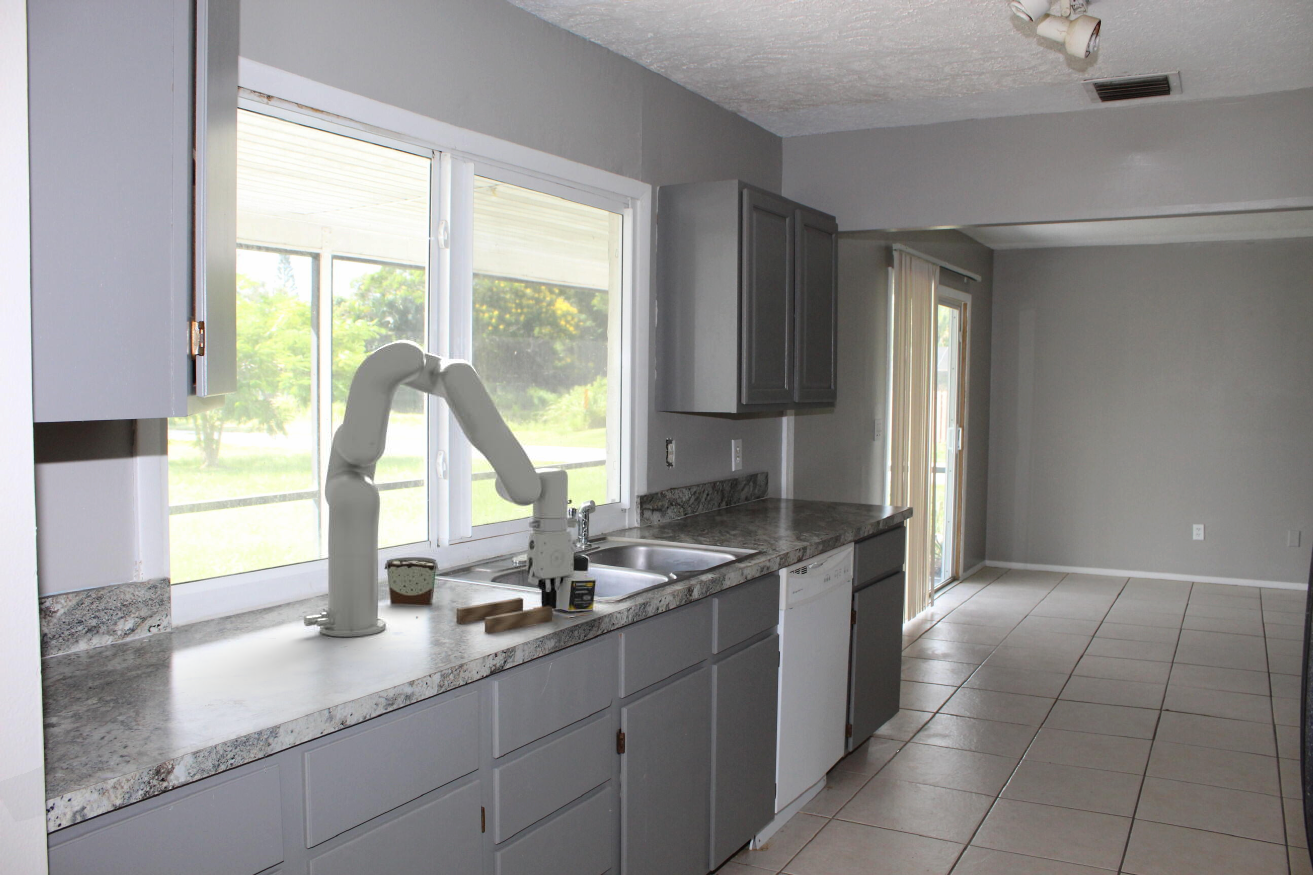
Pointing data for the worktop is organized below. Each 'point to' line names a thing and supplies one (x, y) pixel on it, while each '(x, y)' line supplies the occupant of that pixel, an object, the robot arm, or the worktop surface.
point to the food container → (411, 580)
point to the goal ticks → (566, 617)
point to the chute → (504, 615)
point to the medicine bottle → (577, 587)
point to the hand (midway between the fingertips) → (548, 608)
